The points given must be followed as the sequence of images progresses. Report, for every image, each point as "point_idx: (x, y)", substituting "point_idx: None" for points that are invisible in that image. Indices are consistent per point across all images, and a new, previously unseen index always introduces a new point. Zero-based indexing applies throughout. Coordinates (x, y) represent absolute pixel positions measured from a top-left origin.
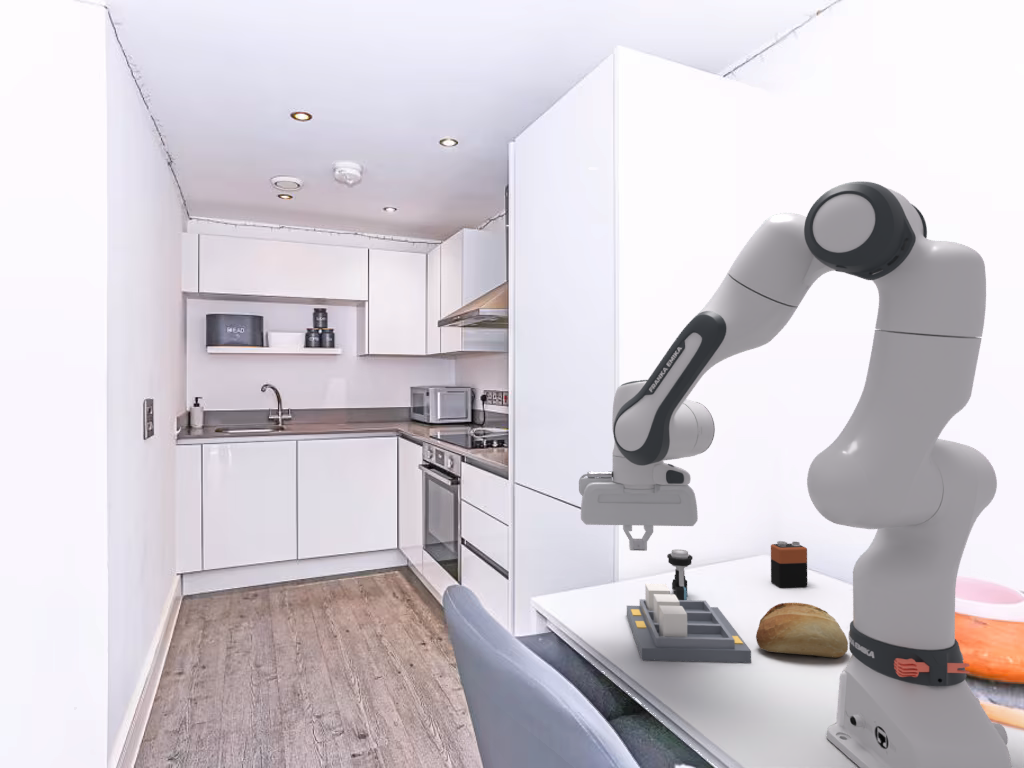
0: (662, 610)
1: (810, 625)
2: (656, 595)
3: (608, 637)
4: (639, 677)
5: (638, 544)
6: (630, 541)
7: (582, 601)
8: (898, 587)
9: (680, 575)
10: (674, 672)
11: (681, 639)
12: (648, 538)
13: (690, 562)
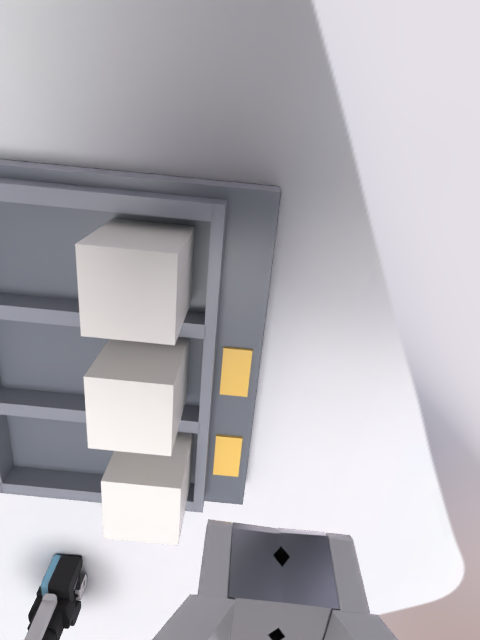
0: (173, 293)
1: None
2: (162, 443)
3: (338, 351)
4: (323, 53)
5: (283, 571)
6: (367, 607)
7: None
8: None
9: (40, 629)
10: (194, 89)
11: (132, 196)
12: (177, 621)
13: None
